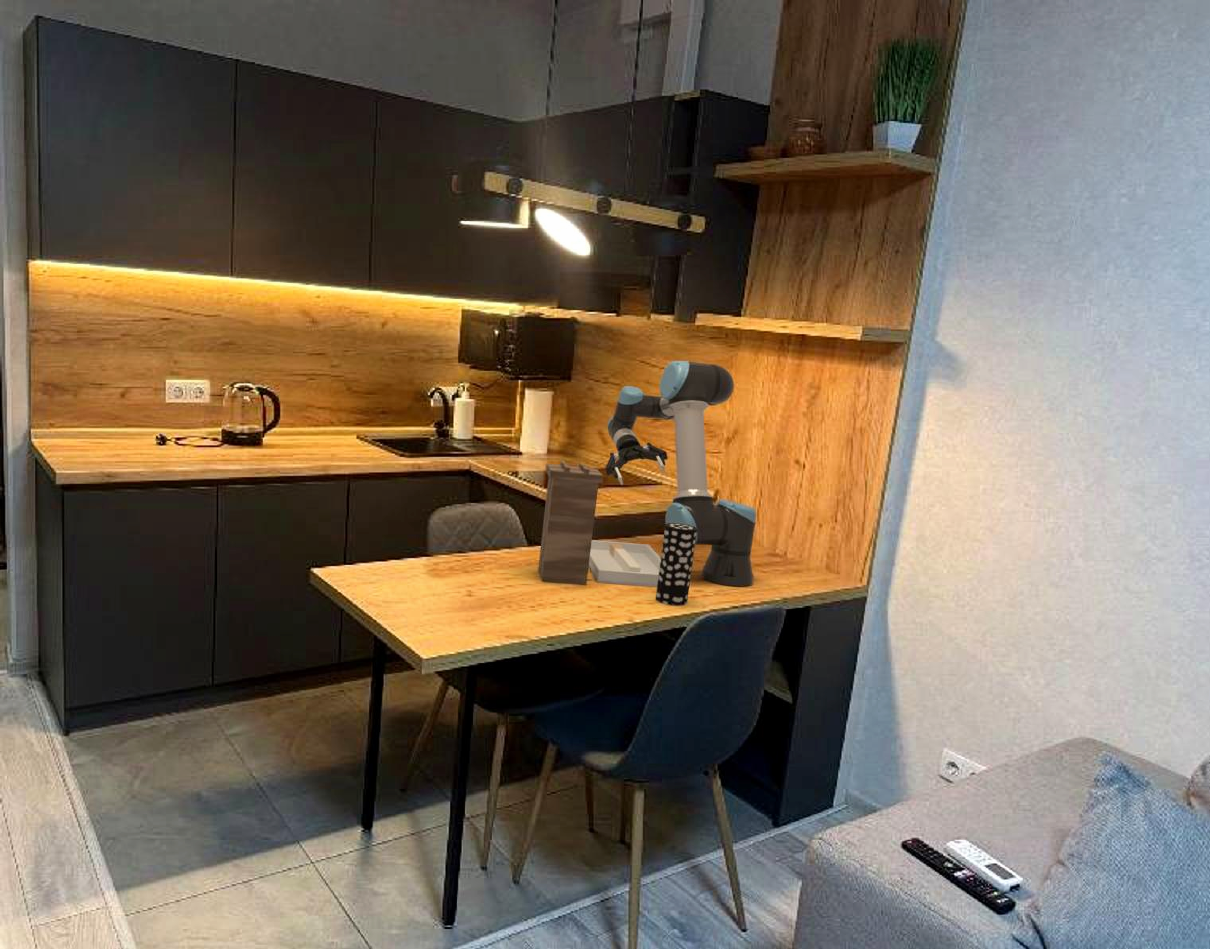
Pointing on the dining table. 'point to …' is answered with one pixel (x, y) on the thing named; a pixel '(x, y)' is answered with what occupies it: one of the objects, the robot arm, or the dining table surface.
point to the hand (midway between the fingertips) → (642, 475)
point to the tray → (612, 573)
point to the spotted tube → (676, 564)
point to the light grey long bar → (623, 558)
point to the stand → (568, 523)
